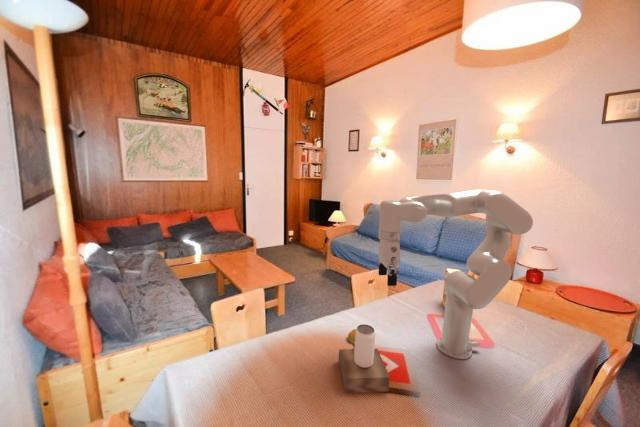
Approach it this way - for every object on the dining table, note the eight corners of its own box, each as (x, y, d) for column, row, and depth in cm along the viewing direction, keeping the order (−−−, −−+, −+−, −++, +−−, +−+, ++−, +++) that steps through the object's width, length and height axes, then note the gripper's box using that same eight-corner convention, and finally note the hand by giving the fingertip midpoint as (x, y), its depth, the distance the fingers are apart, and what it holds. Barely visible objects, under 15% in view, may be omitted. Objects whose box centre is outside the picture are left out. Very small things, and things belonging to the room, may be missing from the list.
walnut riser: (376, 361, 102) (377, 348, 101) (388, 391, 88) (389, 377, 88) (338, 361, 101) (339, 349, 100) (344, 392, 87) (345, 378, 86)
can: (374, 358, 96) (376, 325, 94) (372, 370, 90) (374, 336, 88) (355, 353, 98) (357, 322, 96) (352, 365, 92) (354, 332, 90)
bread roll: (361, 350, 108) (361, 341, 107) (344, 339, 115) (345, 330, 114) (374, 342, 114) (375, 333, 113) (357, 332, 120) (358, 323, 119)
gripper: (409, 241, 92) (406, 289, 95) (390, 229, 109) (388, 271, 112) (387, 241, 92) (385, 290, 94) (372, 229, 109) (370, 271, 111)
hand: (387, 280), depth 103 cm, fingers open, 9 cm apart
